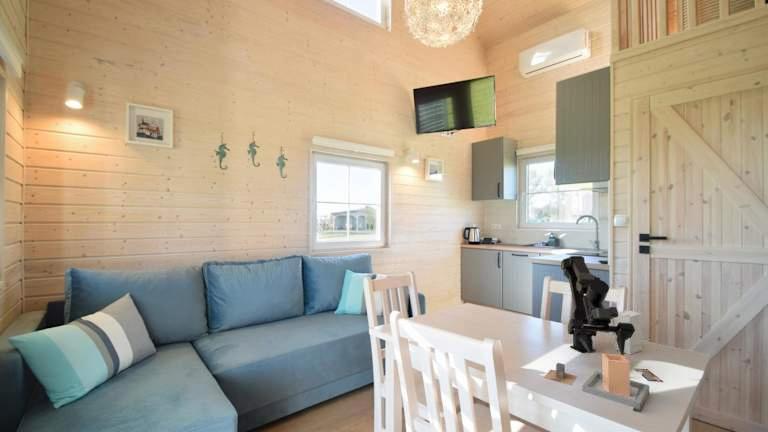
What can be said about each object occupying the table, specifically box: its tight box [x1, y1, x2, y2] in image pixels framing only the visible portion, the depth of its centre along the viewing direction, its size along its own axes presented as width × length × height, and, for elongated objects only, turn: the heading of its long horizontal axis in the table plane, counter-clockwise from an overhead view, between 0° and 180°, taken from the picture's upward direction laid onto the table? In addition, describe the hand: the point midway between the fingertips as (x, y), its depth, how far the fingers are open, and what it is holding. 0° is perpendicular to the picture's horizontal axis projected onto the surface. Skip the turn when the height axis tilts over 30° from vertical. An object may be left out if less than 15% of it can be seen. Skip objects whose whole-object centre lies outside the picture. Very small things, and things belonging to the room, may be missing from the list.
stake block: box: [543, 362, 578, 386], centre depth 114 cm, size 8×8×5 cm
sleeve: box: [601, 353, 631, 398], centre depth 105 cm, size 5×5×10 cm
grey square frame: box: [581, 370, 650, 413], centre depth 105 cm, size 14×14×2 cm
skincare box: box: [614, 309, 643, 355], centre depth 138 cm, size 8×6×15 cm
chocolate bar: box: [633, 368, 665, 383], centre depth 117 cm, size 11×5×1 cm, turn 170°
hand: (606, 353), depth 113 cm, fingers open, 9 cm apart
